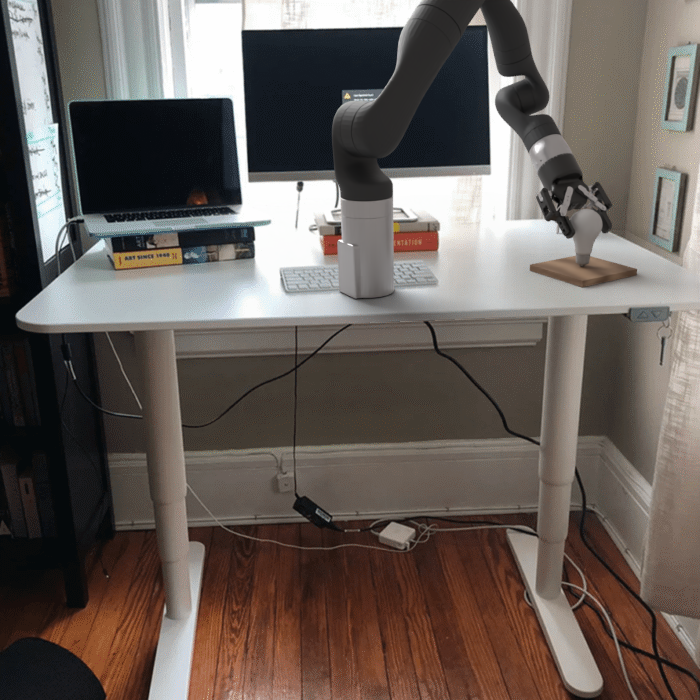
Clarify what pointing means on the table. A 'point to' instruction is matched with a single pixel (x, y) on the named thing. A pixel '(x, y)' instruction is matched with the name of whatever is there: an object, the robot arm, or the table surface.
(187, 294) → the table surface
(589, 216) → the lightbulb
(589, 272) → the walnut board
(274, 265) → the table surface
